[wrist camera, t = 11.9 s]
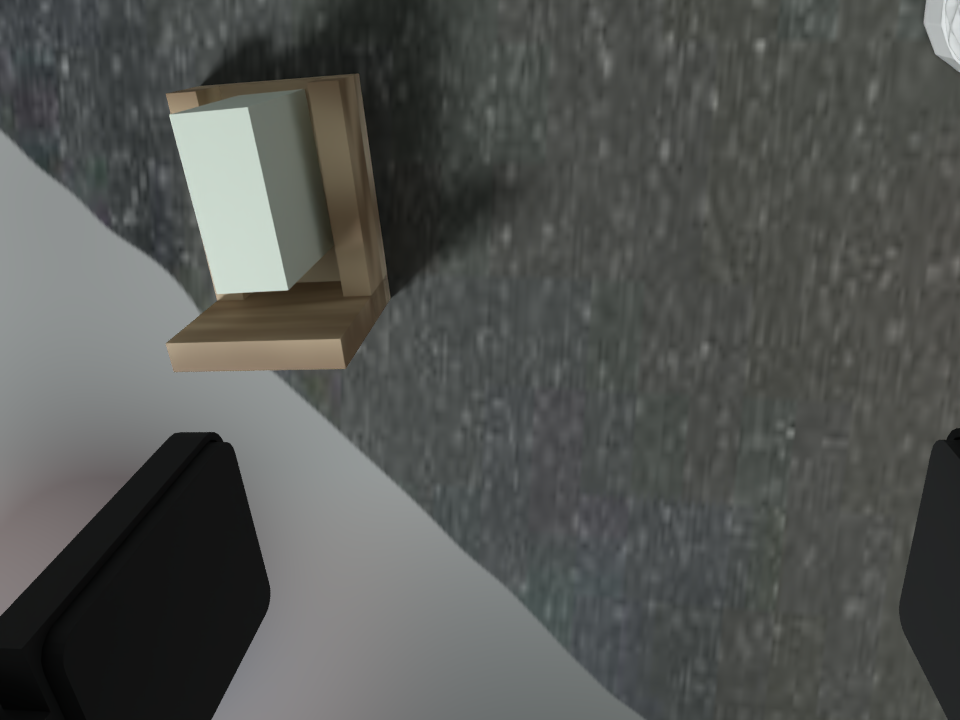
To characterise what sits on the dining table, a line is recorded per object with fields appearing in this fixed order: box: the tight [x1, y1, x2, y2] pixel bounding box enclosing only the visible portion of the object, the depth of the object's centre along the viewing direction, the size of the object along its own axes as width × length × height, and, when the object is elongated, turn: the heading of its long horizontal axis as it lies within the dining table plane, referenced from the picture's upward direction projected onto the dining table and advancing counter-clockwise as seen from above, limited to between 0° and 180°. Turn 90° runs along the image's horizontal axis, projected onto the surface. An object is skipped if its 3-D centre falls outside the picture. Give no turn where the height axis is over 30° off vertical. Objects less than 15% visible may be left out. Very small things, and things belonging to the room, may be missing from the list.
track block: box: [166, 73, 391, 372], centre depth 36 cm, size 12×8×9 cm
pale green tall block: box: [169, 89, 334, 294], centre depth 36 cm, size 8×4×7 cm, turn 6°
